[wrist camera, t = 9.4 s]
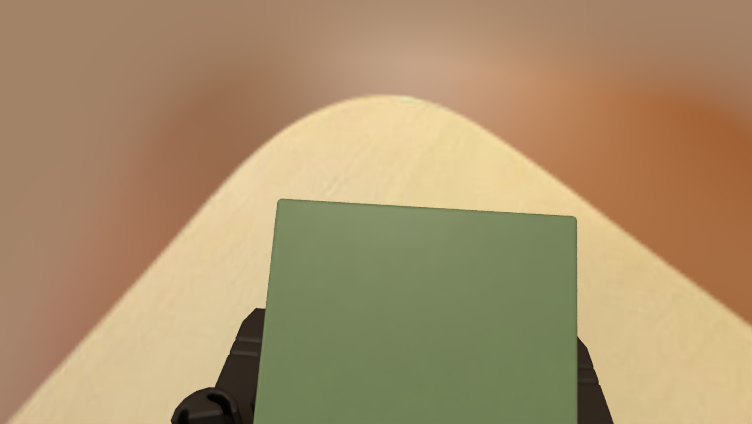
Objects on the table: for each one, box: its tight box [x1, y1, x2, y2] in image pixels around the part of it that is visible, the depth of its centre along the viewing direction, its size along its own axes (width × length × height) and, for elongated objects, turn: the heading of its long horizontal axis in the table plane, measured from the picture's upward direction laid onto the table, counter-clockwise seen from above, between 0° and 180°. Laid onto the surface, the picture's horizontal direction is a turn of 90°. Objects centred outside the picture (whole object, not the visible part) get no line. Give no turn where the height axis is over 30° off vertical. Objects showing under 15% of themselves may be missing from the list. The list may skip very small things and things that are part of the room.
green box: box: [253, 199, 577, 424], centre depth 12 cm, size 5×8×11 cm, turn 176°
